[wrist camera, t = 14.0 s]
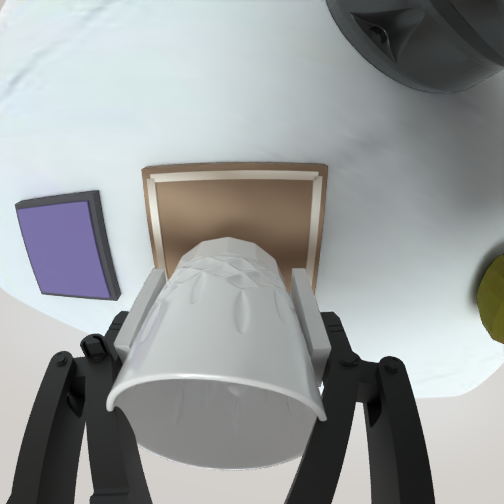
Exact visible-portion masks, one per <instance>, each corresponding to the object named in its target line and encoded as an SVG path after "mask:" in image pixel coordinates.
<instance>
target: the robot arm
mask: <svg viewBox="0 0 504 504" xmlns="http://www.w3.org/2000/svg"><path fill="white" fill-rule="evenodd" d="M326 2H327V5H328V7H329V10H330V12H331V14H332V16H333V18H334V20H335V22H336V23H337V25H338V27H339V28H340V30H341V31H342V33H343V34H344V35H345V37H346V38H347V39H348V40H349V42H350V43H351V44H352V45H353V46H354V47H355V48H356V50H357V51H358V52H359V53H360V54H361V55H362V56H363V57H364V58H366V59H367V60H368V61H369V62H370V63H371V64H372V65H374V66H375V67H376V68H377V69H379V70H380V71H381V72H383V73H384V74H386V75H387V76H389V77H391V78H392V79H394V80H396V81H398V82H399V83H401V84H404V85H406V86H408V87H411V88H414V89H417V90H420V91H425V92H433V93H440V92H458V91H463V90H466V89H469V88H471V87H473V86H474V85H476V84H478V83H479V82H481V81H483V80H485V79H487V78H489V77H491V76H492V75H494V74H496V73H498V72H500V71H502V70H503V69H504V0H326ZM166 283H167V282H166V277H165V271H164V269H152V271H151V273H150V274H149V276H148V278H147V280H146V282H145V283H144V285H143V287H142V289H141V291H140V293H139V294H138V296H137V298H136V300H135V302H134V304H133V306H132V308H131V310H130V312H128V311H121V312H120V313H119V314H118V315H116V316H115V318H114V320H113V321H112V324H111V325H110V327H109V330H108V331H107V332H106V334H105V336H102V335H100V334H91V335H88V336H86V337H85V338H84V339H83V340H82V341H81V343H80V346H81V348H82V351H83V353H84V355H85V357H78V358H73V357H72V355H71V353H69V352H67V351H61V352H58V353H57V354H55V355H54V356H53V357H52V359H51V361H50V363H49V365H48V368H47V370H46V373H45V375H44V378H43V380H42V383H41V385H40V388H39V391H38V393H37V396H36V399H35V402H34V405H33V408H32V411H31V414H30V417H29V420H28V424H27V427H26V430H25V433H24V437H23V441H22V445H21V449H20V452H19V457H18V461H17V465H16V470H15V475H14V481H13V487H12V493H11V496H10V497H9V499H8V501H7V503H6V504H74V497H75V487H76V478H77V470H78V463H79V456H80V450H81V444H82V438H83V433H84V428H85V423H86V427H87V441H88V451H89V461H90V468H91V475H92V482H93V488H94V494H93V495H92V496H91V497H90V504H153V503H152V500H151V497H150V493H149V490H148V486H147V483H146V479H145V476H144V472H143V468H142V464H141V460H140V455H139V451H138V447H137V442H136V437H135V434H134V431H133V429H132V427H131V425H130V423H129V421H128V419H127V417H126V415H125V414H124V412H123V411H122V410H121V408H119V407H117V406H115V407H114V409H113V411H108V410H107V408H106V402H107V398H108V395H109V393H110V391H111V389H112V387H113V384H114V382H115V380H116V378H117V376H118V374H119V372H120V369H121V367H122V365H123V363H124V361H125V359H126V357H127V355H128V353H129V351H130V349H131V346H132V344H133V342H134V340H135V338H136V336H137V334H138V332H139V330H140V328H141V326H142V324H143V322H144V320H145V318H146V316H147V314H148V313H149V311H150V309H151V307H152V305H153V304H154V302H155V300H156V299H157V297H158V295H159V293H160V292H161V290H162V288H163V287H164V285H165V284H166ZM290 296H291V298H292V301H293V304H294V308H295V311H296V313H297V316H298V320H299V323H300V327H301V329H302V332H303V334H304V337H305V341H306V344H307V348H308V351H309V355H310V359H311V362H312V366H313V369H314V373H315V377H316V380H317V384H318V387H320V386H321V383H322V381H323V385H324V389H323V393H322V396H321V399H322V402H323V406H324V410H325V413H326V417H327V420H326V421H320V420H319V418H318V416H317V417H316V420H315V423H314V425H313V428H312V431H311V434H310V436H309V439H308V442H307V445H306V448H305V451H304V453H303V456H302V459H301V462H300V465H299V468H298V470H297V473H296V475H295V478H294V481H293V483H292V486H291V488H290V491H289V493H288V495H287V498H286V500H285V503H284V504H331V502H332V500H333V496H334V493H335V490H336V487H337V483H338V480H339V476H340V472H341V469H342V465H343V461H344V457H345V453H346V449H347V444H348V440H349V435H350V430H351V426H352V421H353V416H354V410H355V405H356V402H361V403H363V407H364V415H365V423H366V432H367V441H368V452H369V464H370V477H371V478H370V479H371V499H372V504H435V497H434V490H433V483H432V476H431V470H430V465H429V459H428V454H427V449H426V444H425V439H424V435H423V430H422V426H421V422H420V418H419V414H418V410H417V406H416V402H415V398H414V395H413V391H412V388H411V384H410V381H409V378H408V374H407V371H406V368H405V365H404V363H403V362H402V361H401V360H400V359H398V358H396V357H392V356H387V357H384V358H382V359H381V360H380V362H379V363H375V362H368V361H364V360H361V358H360V357H359V355H357V354H356V353H354V352H353V351H352V349H351V346H350V344H349V341H348V338H347V336H346V333H345V332H344V328H343V326H342V323H341V321H340V318H339V317H338V316H337V315H336V314H335V313H334V312H320V311H319V308H318V305H317V302H316V299H315V296H314V293H313V290H312V288H311V285H310V282H309V279H308V276H307V273H306V270H305V268H292V277H291V289H290Z"/></svg>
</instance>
